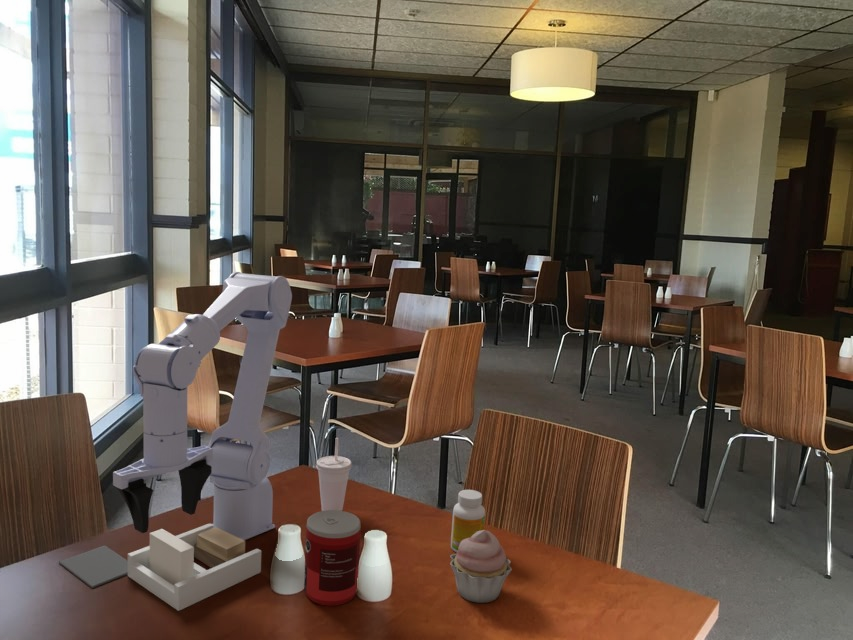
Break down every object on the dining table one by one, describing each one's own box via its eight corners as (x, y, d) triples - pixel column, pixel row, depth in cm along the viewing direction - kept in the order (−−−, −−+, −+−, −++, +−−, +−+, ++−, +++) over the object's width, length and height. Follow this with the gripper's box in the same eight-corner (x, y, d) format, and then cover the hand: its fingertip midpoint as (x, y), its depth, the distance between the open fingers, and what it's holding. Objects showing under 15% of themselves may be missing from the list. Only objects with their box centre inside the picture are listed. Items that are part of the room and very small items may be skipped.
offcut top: (215, 538, 109) (215, 526, 108) (245, 553, 105) (245, 540, 105) (196, 546, 106) (197, 534, 106) (226, 561, 102) (226, 549, 102)
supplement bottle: (485, 556, 113) (490, 500, 111) (453, 556, 112) (457, 501, 111) (478, 540, 118) (482, 487, 117) (447, 541, 117) (451, 487, 116)
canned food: (326, 572, 105) (329, 504, 103) (368, 589, 101) (372, 519, 99) (292, 594, 98) (294, 522, 97) (335, 613, 94) (339, 539, 93)
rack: (209, 543, 111) (209, 523, 111) (260, 572, 104) (261, 550, 103) (127, 576, 100) (127, 553, 100) (178, 611, 93) (178, 587, 92)
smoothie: (356, 510, 127) (359, 438, 125) (334, 522, 122) (337, 447, 119) (329, 501, 130) (332, 431, 128) (307, 512, 125) (309, 439, 123)
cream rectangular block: (162, 572, 102) (162, 528, 101) (193, 592, 97) (193, 547, 96) (149, 577, 100) (149, 533, 99) (180, 598, 96) (181, 552, 95)
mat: (104, 546, 108) (104, 545, 108) (138, 569, 102) (138, 567, 102) (59, 563, 103) (59, 561, 103) (92, 588, 97) (92, 586, 97)
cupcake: (455, 612, 96) (460, 546, 95) (441, 577, 106) (445, 516, 104) (518, 608, 98) (524, 543, 97) (499, 574, 107) (504, 514, 106)
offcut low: (213, 551, 110) (213, 537, 109) (247, 572, 104) (248, 557, 104) (194, 559, 107) (194, 544, 107) (228, 581, 101) (228, 565, 101)
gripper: (192, 412, 103) (191, 497, 105) (99, 434, 91) (101, 529, 93) (222, 423, 99) (221, 510, 101) (129, 447, 87) (130, 546, 90)
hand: (165, 521), depth 97 cm, fingers open, 7 cm apart
